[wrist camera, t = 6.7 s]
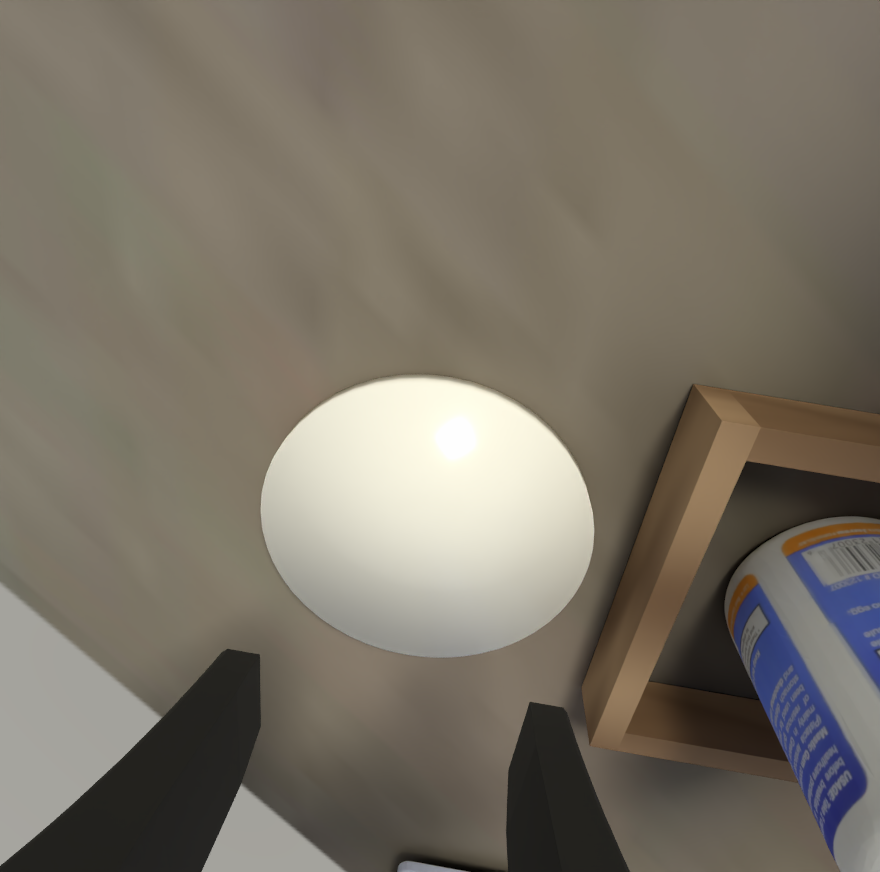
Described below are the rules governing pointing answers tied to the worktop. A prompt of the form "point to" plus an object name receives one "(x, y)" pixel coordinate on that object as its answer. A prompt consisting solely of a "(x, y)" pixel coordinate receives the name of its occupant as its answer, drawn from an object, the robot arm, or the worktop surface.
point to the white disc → (428, 516)
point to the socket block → (675, 565)
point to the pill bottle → (820, 669)
